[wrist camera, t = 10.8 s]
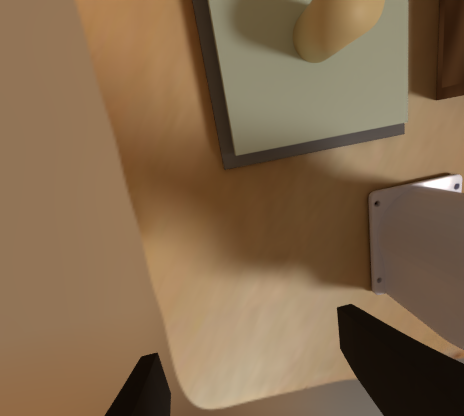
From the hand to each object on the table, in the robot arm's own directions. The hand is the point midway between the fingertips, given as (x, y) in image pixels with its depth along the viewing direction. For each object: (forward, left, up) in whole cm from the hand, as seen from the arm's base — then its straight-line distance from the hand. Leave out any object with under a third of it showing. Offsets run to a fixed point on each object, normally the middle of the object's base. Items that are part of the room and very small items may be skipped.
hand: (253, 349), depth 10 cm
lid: (+13, -8, -10) cm, 18 cm away
